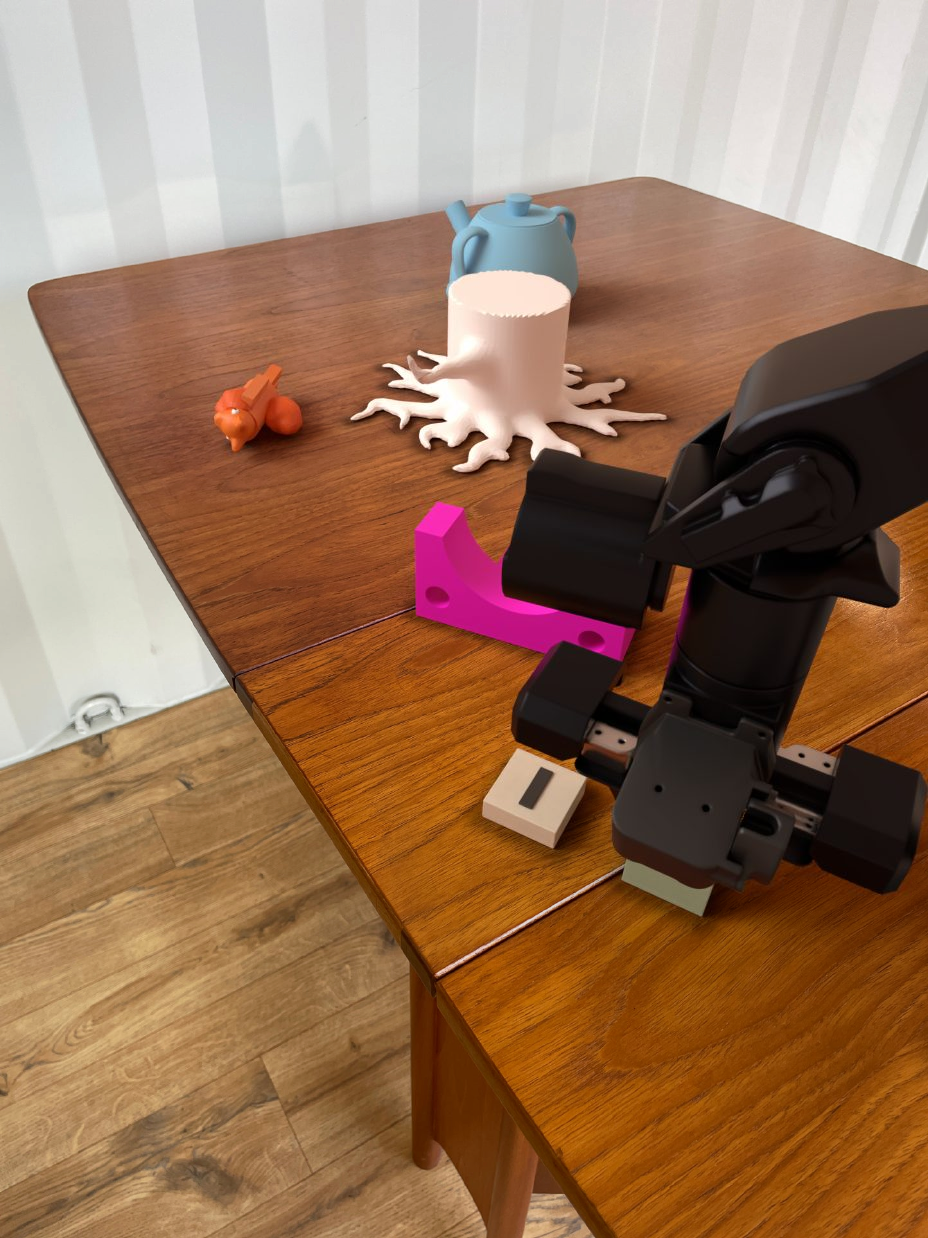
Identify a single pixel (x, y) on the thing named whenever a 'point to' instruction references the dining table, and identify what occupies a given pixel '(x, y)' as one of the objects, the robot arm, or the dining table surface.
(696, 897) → the green letter i block
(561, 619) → the magenta cradle bracket
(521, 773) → the beige minus sign block
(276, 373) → the orange toy bird
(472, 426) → the tree stump
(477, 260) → the teapot
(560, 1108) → the dining table surface
